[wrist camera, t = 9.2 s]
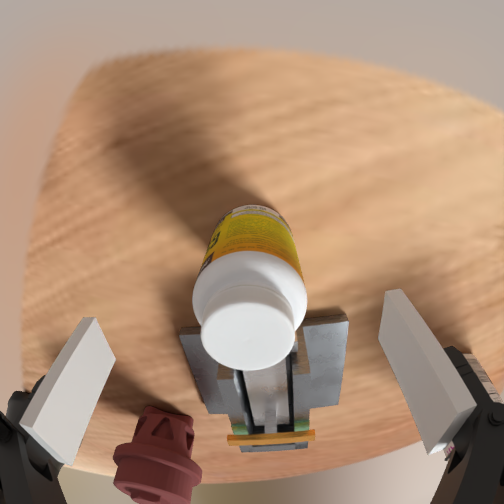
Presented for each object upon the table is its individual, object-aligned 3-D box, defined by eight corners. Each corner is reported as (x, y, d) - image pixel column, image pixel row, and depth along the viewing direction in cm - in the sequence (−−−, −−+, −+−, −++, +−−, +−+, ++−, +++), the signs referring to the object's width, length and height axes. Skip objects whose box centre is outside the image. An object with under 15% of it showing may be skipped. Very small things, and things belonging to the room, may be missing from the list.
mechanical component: (179, 443, 35) (118, 410, 32) (225, 423, 31) (155, 384, 29) (165, 517, 24) (91, 488, 21) (216, 514, 20) (126, 483, 17)
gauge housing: (210, 406, 30) (203, 452, 24) (181, 327, 25) (164, 381, 19) (336, 397, 29) (346, 443, 23) (345, 313, 24) (365, 366, 18)
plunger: (236, 398, 28) (232, 452, 22) (214, 316, 23) (202, 378, 17) (307, 393, 27) (313, 447, 21) (307, 308, 23) (320, 370, 17)
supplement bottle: (216, 197, 20) (180, 274, 11) (298, 207, 20) (331, 291, 11) (210, 270, 22) (182, 374, 13) (284, 278, 22) (298, 386, 13)
